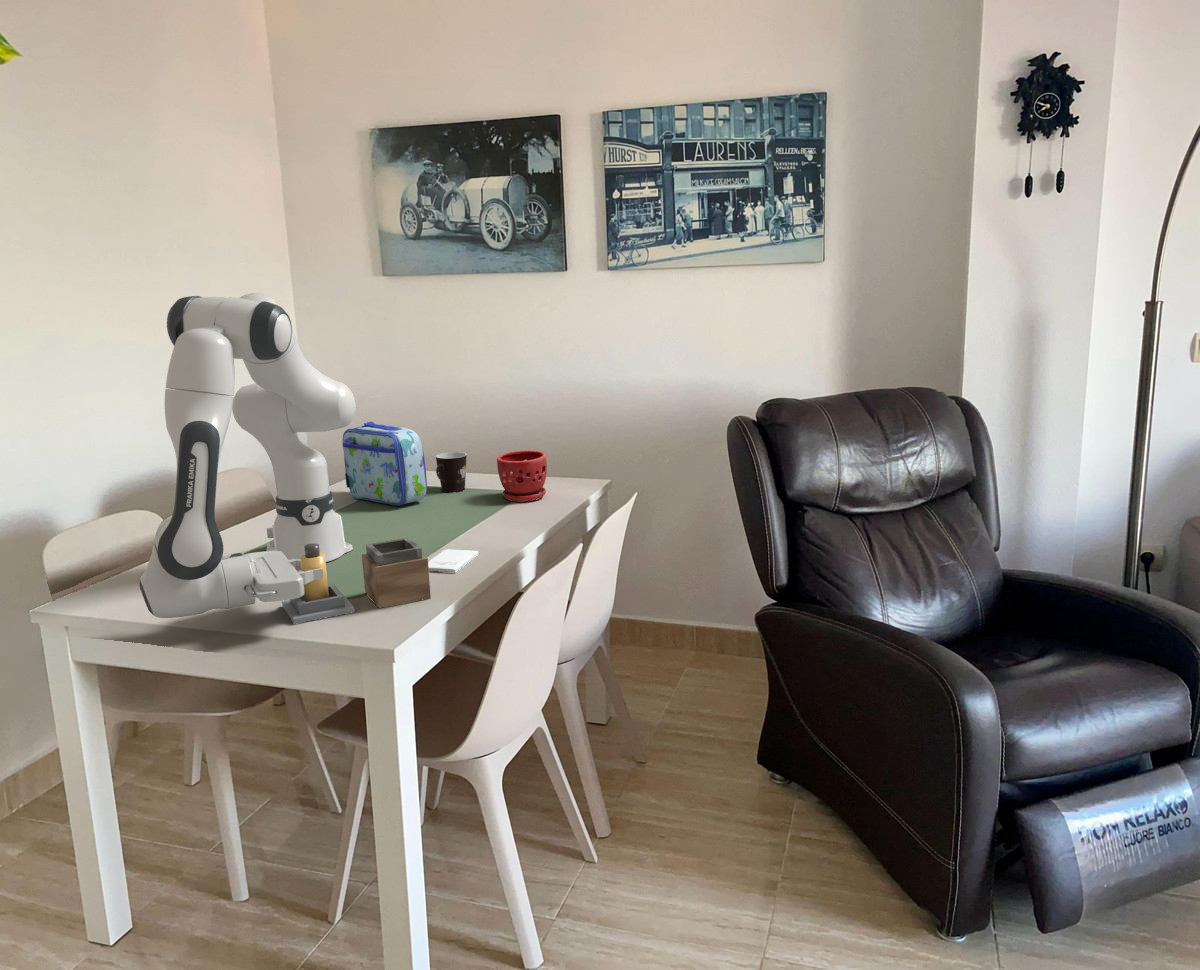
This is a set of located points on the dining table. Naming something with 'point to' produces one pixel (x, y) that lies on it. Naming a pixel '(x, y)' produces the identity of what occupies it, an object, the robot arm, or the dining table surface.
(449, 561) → the external hard drive
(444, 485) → the coffee mug
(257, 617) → the dining table surface
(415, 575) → the walnut stand
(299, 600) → the low socket
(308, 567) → the yellow bottle
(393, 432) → the lunch box
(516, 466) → the plant pot
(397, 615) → the dining table surface
